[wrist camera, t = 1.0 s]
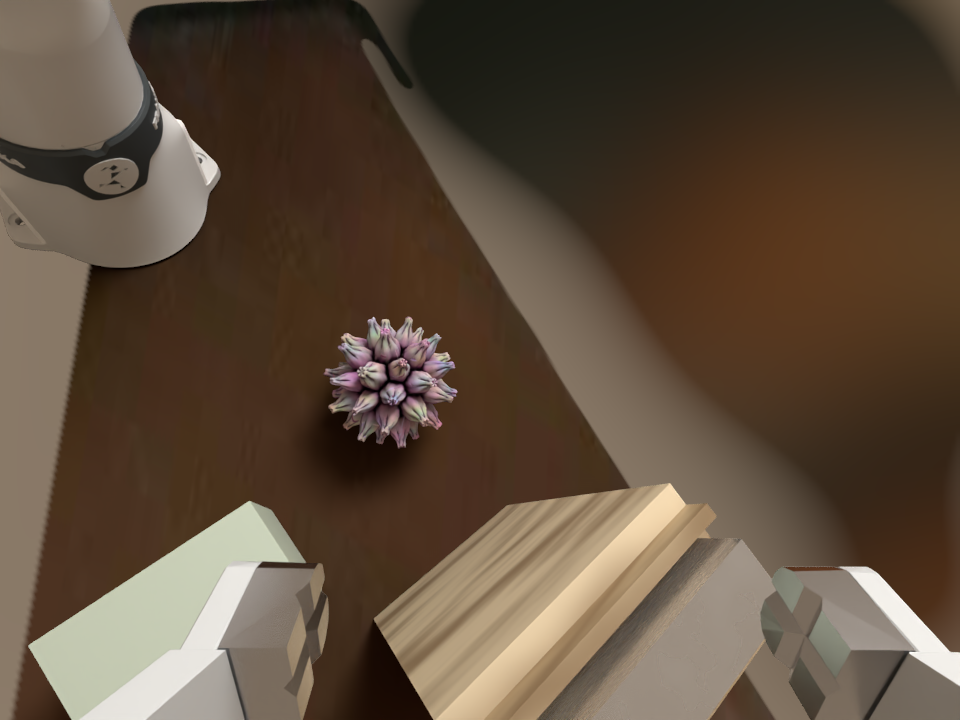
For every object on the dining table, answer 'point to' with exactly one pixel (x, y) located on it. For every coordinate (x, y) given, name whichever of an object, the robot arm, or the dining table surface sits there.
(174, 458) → the dining table surface
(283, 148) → the dining table surface
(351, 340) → the flower
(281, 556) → the sage block
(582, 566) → the oak stand
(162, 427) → the dining table surface
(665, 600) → the steel bar
